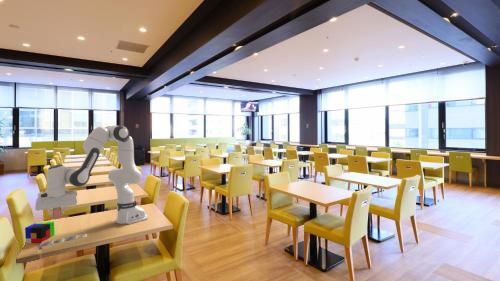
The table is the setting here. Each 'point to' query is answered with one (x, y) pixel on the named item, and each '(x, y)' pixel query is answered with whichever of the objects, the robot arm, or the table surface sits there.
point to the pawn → (57, 213)
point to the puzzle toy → (39, 232)
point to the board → (60, 241)
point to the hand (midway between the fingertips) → (57, 214)
